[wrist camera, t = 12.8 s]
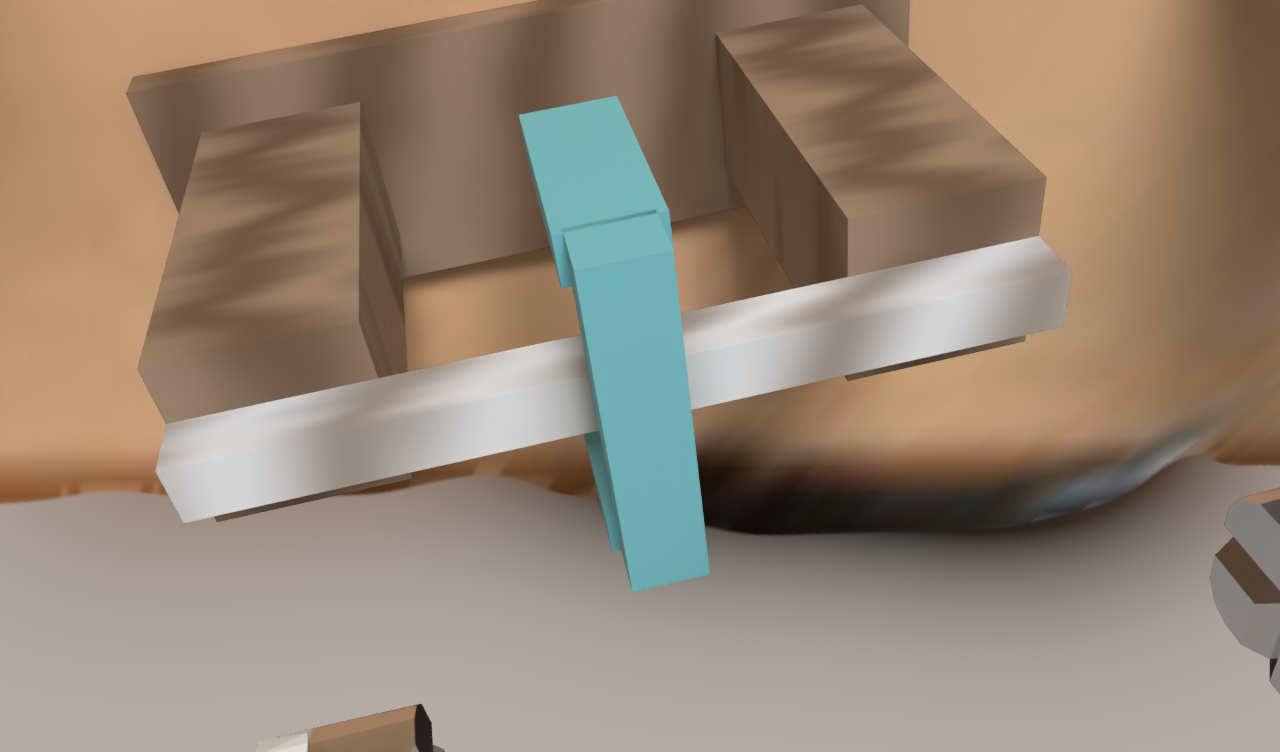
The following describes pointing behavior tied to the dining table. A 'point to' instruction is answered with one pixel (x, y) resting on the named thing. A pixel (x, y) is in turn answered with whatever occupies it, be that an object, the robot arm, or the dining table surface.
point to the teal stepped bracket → (624, 332)
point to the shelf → (512, 224)
